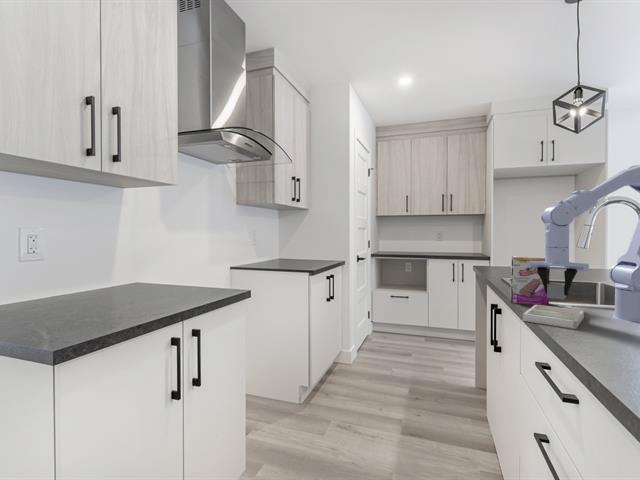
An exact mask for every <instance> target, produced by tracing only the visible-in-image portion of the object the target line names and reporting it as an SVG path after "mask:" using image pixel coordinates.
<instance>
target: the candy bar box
mask: <svg viewBox="0 0 640 480" xmlns="http://www.w3.org/2000/svg"><path fill="white" fill-rule="evenodd" d="M510 261H511V263H510V264H511V265H510V266H511V267H510V271H511V272H510V303H511V304H523V305H533V306H534V305H543V306H550V305H549V304H550V298H547V294H546V293H545V289H544V285H543V283H542V280H541V278H540V276H539V274H538V273H537V269H538V268H527V262H528V261H545V256H525V255H524V256H522V255H521V256H520V255H519V256H518V255H512V256H511V260H510ZM545 267H551V266H545Z"/></svg>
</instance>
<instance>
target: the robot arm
mask: <svg viewBox="0 0 640 480" xmlns="http://www.w3.org/2000/svg"><path fill="white" fill-rule="evenodd" d="M627 186H628V187H630V188H632V189H633V190H635V191H636V192H638V193H639V194H640V164H636V165H632V166H629V167H628V168H626V169H623V170H620V171H619V172H618V173H616V174H614V175H612V176H611V177H609V178H608V179H606V180H605V181H602V183H600V184H598V185H597V186H595V187H593V188H591V189H590V190H588V189H587V190H586V189H581V190H575V191H572V195H571V196H569V197H567V198H565V199H564V200H558V201H557V204H556V205H552V206H548V207H547V208H545V209H544V211H543V213H542V215H541V216H540V219H541V222H542V223H543V224H544V227H545V228H544V229H545V231H544V232H545V233H544V257H545V261H528V262H527V268H538V269H537V273H538V274H539V276H540V278H541V280H542V283H543V285H544V289H545V293H546V294H547V284H548V283H550V274H551V273H550V272H551V270H564V272H563V273H564V275H563V276H564V284H565V289H564V295H565V296H566V297H567V296H569V293H570V288H571V286H572V282H573V281H574V279H575V277H576V275H577V273H578V271H583V272H588V271H590V263H584V262H583V263H581V262H570V224H572V223H573V221H574V220H575V218H578V217H579V216H581V215H582V214H584V213H586V212H588V211H590V210H591V209H593V208H596V206H597V204H598V201H599V200H600V199H602V198H604V197H607V196H608V195H610V194H612V193H614V192H616V191H618V190H619V189H622V188H624V187H627ZM545 266H550V267H545ZM608 275H609V279H610V280H611V281H612V282H613V283H614V288H615V289H614V290H615V291H614V312H613V314H612V318H611V319H612V320H619V321H624V322H625V321H627V322H634V323H640V217H639V219H638V221H637V224H636V227H635V229H634V232H633V234H632V238H631V240H630V243H629V246H628V249H627V250H626V252H625V253H624V254H623V255H621V256H620V257H618V259H617V261H616V263H614V265H613V266H612V267H611V268H610V270H609V274H608Z"/></svg>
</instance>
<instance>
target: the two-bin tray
mask: <svg viewBox="0 0 640 480" xmlns="http://www.w3.org/2000/svg"><path fill="white" fill-rule="evenodd" d="M584 318H585V311H584V310H582V309H576V308H575V309H574V308H567V307H566V308H565V307H557V306H550V305H549V306H546V305H533V306H532V307H530V308H529V309H528V310H526V311H524V312H523V313H522V322H528V323H533V324H534V323H535V324H542V325H546V326H547V325H548V326H552V327H553V326H554V327H561V328H567V329H573V330H577V329H578V327H580V324H581V323H582V321H583V319H584Z"/></svg>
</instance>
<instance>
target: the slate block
mask: <svg viewBox="0 0 640 480" xmlns="http://www.w3.org/2000/svg"><path fill="white" fill-rule="evenodd" d="M564 289H565V283H563V282H561V283H559V282H550V281H549V283H548V284H547V298H549V299H552V300H553V299H554V300H563V301H564V300H565V299H566V298H567V296H565V295H564Z"/></svg>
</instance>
